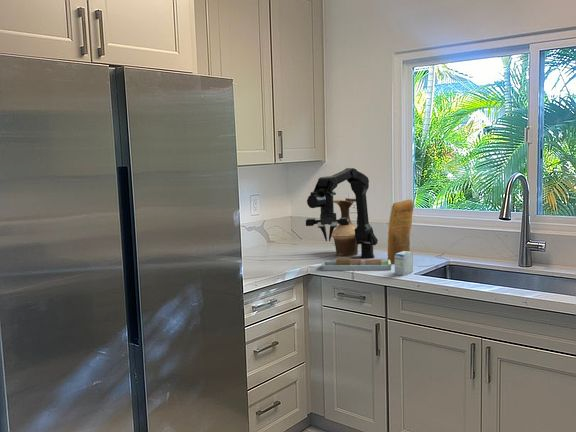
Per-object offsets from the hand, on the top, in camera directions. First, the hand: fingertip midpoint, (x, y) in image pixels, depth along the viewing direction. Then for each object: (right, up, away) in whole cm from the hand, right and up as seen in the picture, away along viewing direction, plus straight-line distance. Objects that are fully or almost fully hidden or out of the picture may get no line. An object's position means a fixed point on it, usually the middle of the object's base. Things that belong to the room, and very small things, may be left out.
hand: (328, 241), depth 254 cm
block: (+7, -12, 0) cm, 14 cm away
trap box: (+13, -11, +2) cm, 17 cm away
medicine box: (+31, -13, -14) cm, 36 cm away
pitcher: (+12, -8, +33) cm, 36 cm away
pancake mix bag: (+34, -10, +10) cm, 37 cm away
